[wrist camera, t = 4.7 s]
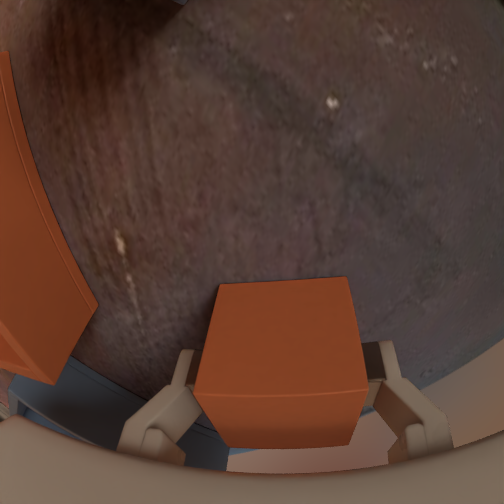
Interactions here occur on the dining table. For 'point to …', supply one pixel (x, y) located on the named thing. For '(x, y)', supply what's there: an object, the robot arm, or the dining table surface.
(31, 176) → the terracotta bin
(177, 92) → the dining table surface
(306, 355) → the terracotta block
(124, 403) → the blue bin
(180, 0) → the blue block
